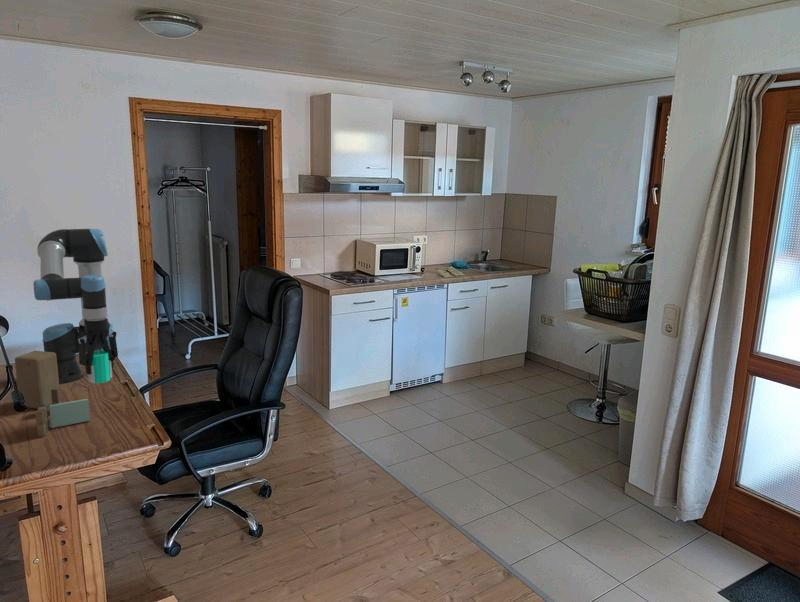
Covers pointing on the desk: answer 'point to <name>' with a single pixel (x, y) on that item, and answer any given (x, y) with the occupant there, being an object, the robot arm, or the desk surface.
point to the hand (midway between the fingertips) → (100, 379)
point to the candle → (101, 366)
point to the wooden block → (37, 377)
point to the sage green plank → (69, 413)
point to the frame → (42, 412)
